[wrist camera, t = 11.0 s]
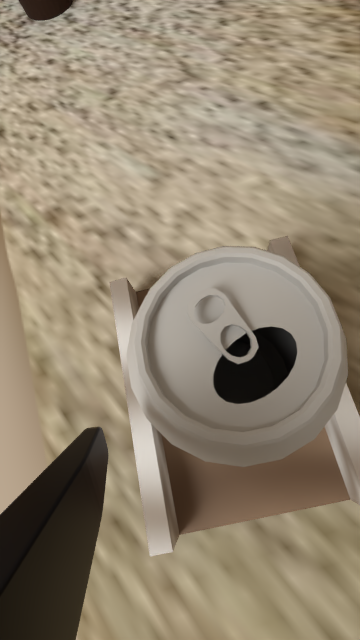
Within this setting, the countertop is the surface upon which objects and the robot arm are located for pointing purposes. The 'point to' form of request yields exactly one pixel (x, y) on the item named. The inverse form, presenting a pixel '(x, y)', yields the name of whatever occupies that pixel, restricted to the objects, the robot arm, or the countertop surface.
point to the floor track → (228, 480)
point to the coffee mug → (44, 8)
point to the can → (237, 356)
